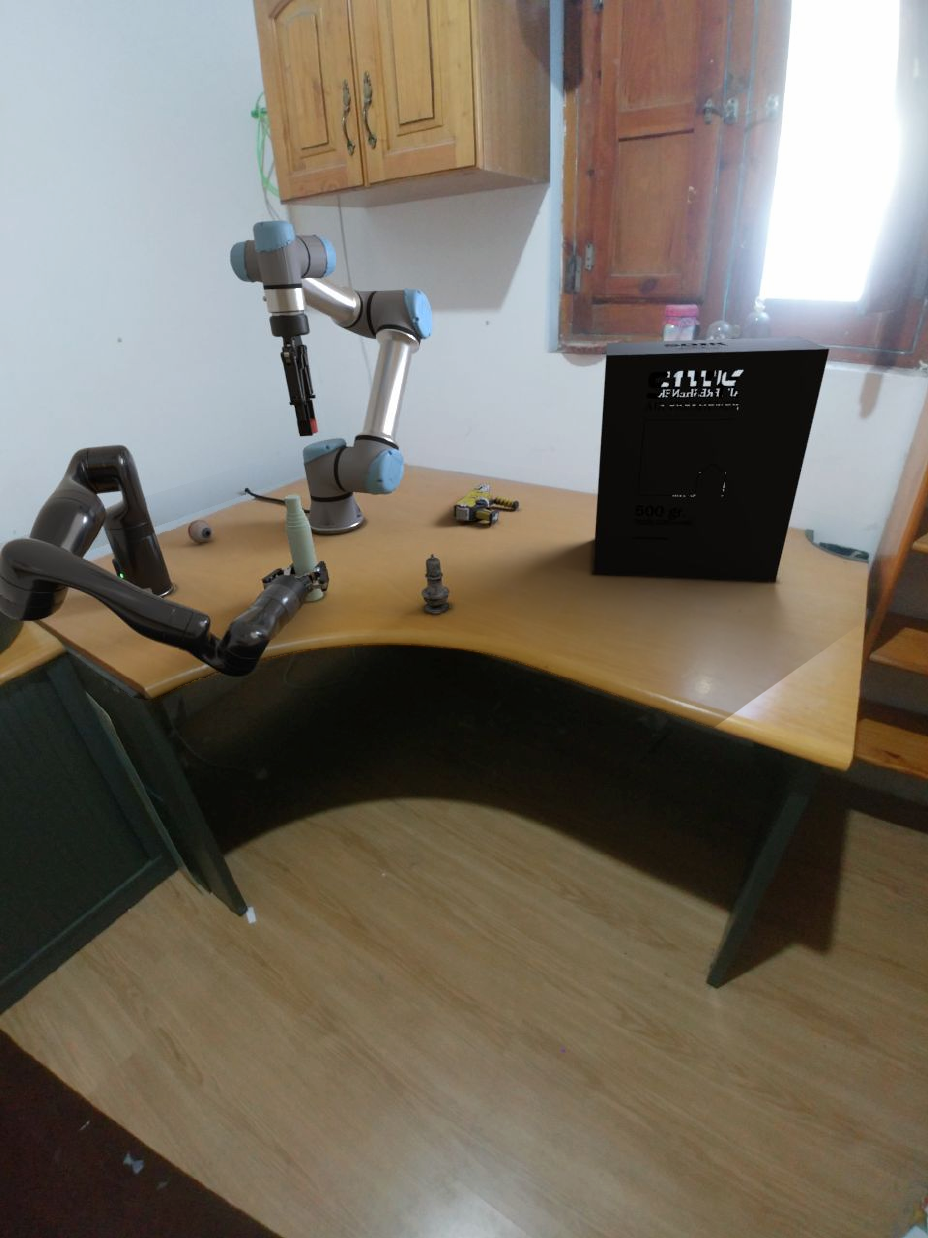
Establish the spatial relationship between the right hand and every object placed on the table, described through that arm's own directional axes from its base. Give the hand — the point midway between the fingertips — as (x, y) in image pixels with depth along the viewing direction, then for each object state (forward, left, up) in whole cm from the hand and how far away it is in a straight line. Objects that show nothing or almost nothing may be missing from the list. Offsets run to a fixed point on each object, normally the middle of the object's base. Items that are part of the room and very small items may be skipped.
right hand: (308, 432), depth 132 cm
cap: (0, 0, +2) cm, 2 cm away
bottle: (+13, -11, -31) cm, 36 cm away
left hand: (+12, -9, -25) cm, 29 cm away
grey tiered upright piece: (+36, +7, -31) cm, 48 cm away
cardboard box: (+54, +62, -31) cm, 88 cm away
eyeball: (-37, -20, -31) cm, 52 cm away
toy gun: (-1, +51, -31) cm, 59 cm away
